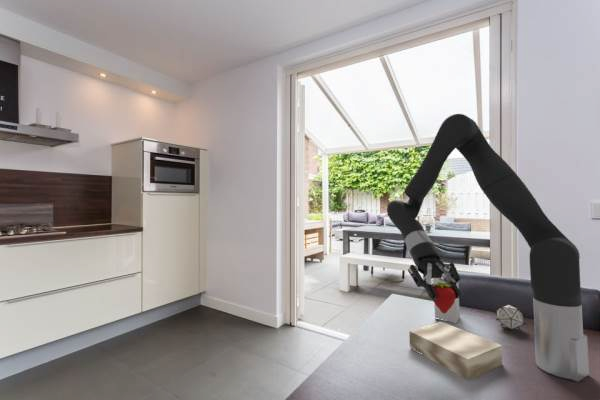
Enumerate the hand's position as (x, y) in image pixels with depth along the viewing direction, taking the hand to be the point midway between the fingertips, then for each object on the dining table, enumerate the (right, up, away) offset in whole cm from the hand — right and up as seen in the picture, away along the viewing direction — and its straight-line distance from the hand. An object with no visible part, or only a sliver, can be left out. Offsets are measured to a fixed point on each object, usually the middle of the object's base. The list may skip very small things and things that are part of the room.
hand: (446, 297), depth 78 cm
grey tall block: (+15, -17, +28) cm, 36 cm away
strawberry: (0, -5, +2) cm, 5 cm away
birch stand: (+3, -17, +2) cm, 17 cm away
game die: (+31, -17, +18) cm, 39 cm away
